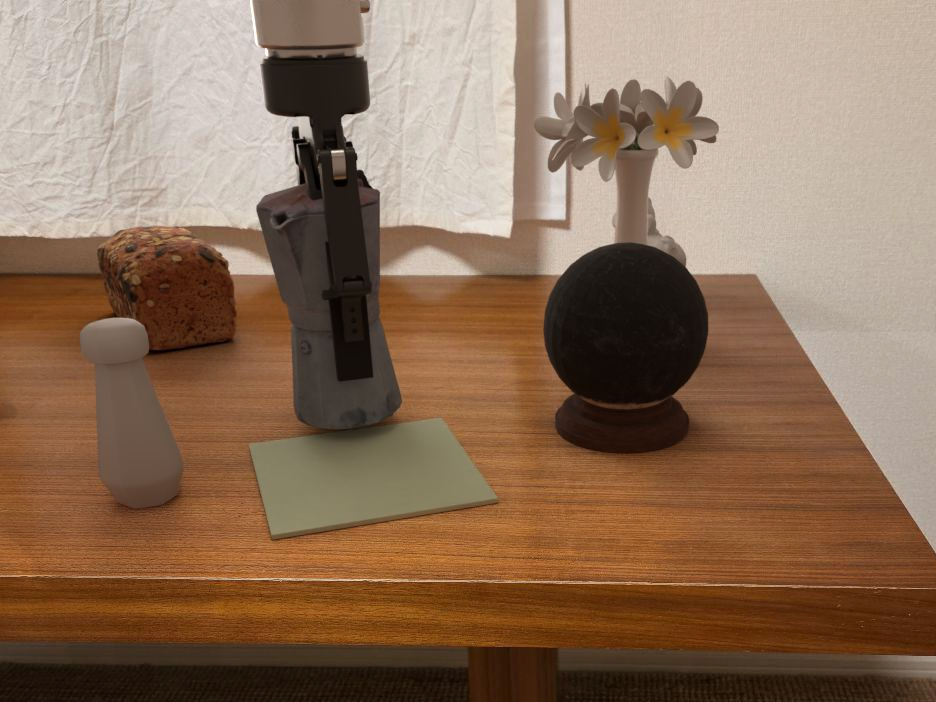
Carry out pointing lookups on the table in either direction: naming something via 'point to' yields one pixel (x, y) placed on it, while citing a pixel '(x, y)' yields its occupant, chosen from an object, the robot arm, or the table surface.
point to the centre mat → (365, 477)
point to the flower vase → (628, 141)
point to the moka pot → (326, 310)
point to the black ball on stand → (625, 347)
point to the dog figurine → (660, 237)
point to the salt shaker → (130, 417)
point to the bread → (169, 285)
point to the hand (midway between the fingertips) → (344, 358)
